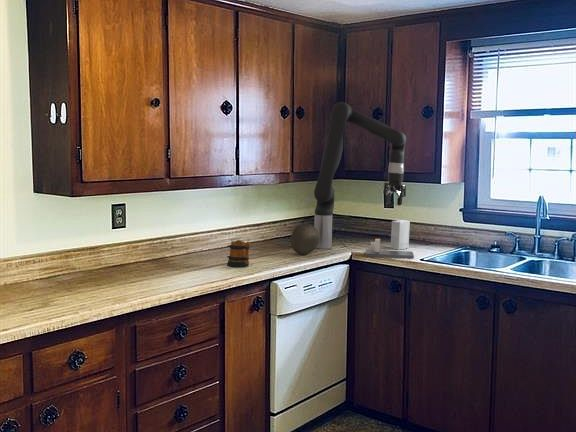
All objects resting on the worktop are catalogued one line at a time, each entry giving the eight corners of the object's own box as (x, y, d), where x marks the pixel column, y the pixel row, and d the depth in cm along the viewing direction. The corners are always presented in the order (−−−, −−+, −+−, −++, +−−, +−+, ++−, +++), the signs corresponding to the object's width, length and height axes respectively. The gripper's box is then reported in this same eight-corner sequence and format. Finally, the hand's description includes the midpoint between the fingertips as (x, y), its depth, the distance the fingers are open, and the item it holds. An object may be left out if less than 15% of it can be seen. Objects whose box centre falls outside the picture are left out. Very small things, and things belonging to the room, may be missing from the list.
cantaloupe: (289, 256, 305) (290, 225, 303) (290, 251, 319) (291, 221, 317) (319, 257, 305) (320, 226, 303) (319, 252, 319) (320, 222, 317)
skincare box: (400, 247, 342) (401, 219, 340) (409, 248, 337) (410, 220, 335) (389, 248, 336) (391, 220, 335) (398, 250, 332) (400, 221, 330)
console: (365, 256, 311) (366, 245, 311) (365, 252, 323) (366, 241, 322) (413, 258, 308) (414, 247, 308) (412, 254, 320) (412, 243, 320)
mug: (221, 265, 282) (221, 239, 280) (239, 262, 289) (240, 237, 287) (240, 269, 272) (240, 243, 271) (258, 267, 279) (258, 240, 278)
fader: (374, 252, 314) (375, 239, 313) (374, 250, 317) (375, 238, 316) (379, 252, 314) (380, 239, 313) (379, 251, 317) (380, 238, 316)
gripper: (381, 170, 323) (378, 202, 325) (399, 173, 311) (397, 206, 313) (392, 170, 327) (390, 202, 329) (411, 173, 315) (408, 205, 317)
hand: (393, 204), depth 321 cm, fingers open, 8 cm apart
